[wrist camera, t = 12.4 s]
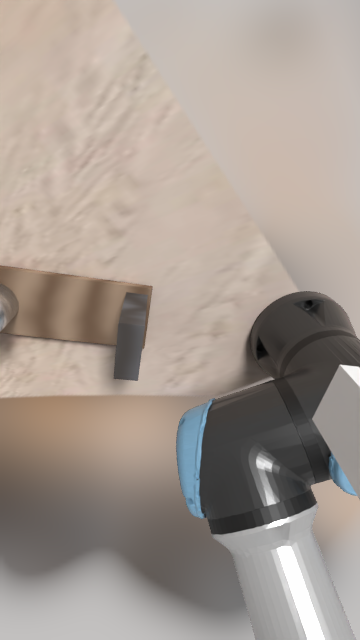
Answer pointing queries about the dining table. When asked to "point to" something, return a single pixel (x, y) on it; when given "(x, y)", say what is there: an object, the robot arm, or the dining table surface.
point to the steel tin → (7, 305)
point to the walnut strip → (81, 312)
